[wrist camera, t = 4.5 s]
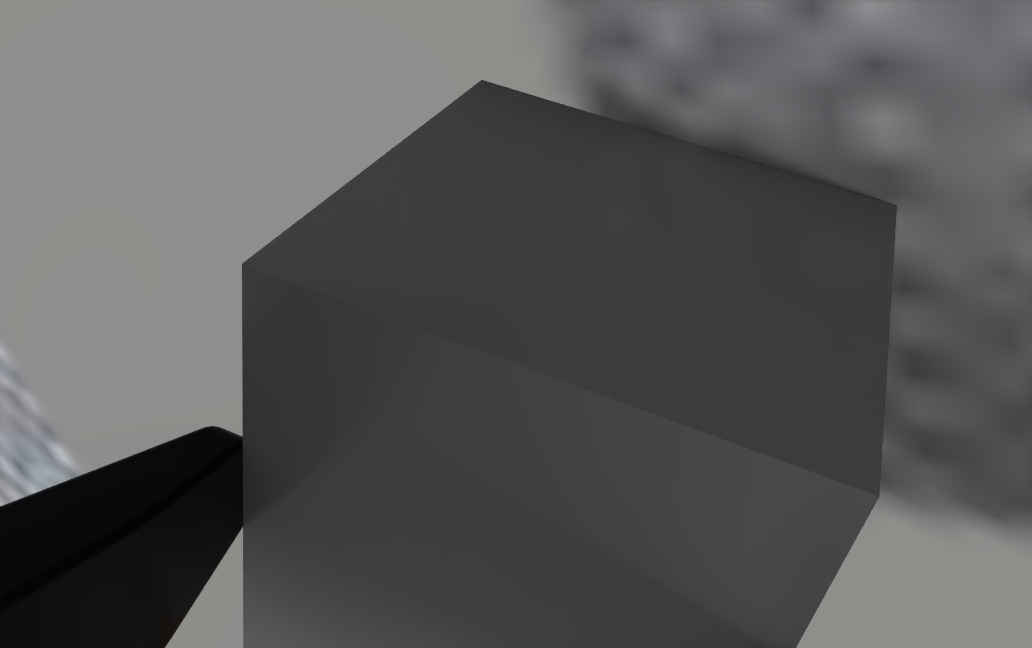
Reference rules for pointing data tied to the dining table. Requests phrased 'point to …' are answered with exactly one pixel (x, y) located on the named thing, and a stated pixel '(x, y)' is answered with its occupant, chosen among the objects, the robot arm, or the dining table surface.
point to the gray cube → (560, 393)
